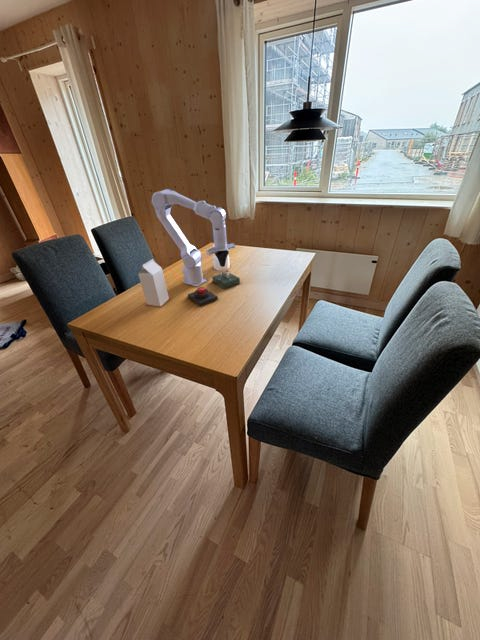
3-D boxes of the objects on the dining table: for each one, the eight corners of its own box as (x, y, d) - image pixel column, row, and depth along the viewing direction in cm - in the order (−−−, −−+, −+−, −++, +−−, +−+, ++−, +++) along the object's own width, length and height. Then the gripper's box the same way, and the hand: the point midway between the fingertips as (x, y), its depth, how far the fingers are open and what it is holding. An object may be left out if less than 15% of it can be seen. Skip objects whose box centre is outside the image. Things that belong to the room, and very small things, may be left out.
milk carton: (169, 299, 120) (160, 259, 110) (160, 306, 115) (150, 265, 104) (156, 297, 123) (145, 258, 112) (146, 304, 117) (135, 264, 107)
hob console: (212, 281, 134) (212, 276, 132) (227, 276, 138) (226, 271, 136) (225, 289, 126) (224, 283, 124) (239, 283, 131) (239, 277, 129)
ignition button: (196, 292, 118) (195, 288, 117) (203, 289, 120) (202, 286, 119) (200, 295, 116) (199, 291, 115) (207, 292, 117) (206, 288, 116)
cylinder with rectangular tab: (232, 265, 150) (231, 245, 144) (223, 271, 144) (221, 250, 138) (220, 263, 155) (218, 242, 148) (210, 268, 148) (208, 247, 142)
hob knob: (221, 276, 132) (221, 268, 129) (224, 275, 132) (223, 268, 130) (227, 279, 128) (226, 271, 126) (229, 278, 129) (229, 270, 127)
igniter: (188, 297, 121) (186, 290, 119) (204, 291, 125) (204, 284, 123) (200, 306, 113) (199, 299, 112) (217, 299, 118) (216, 292, 116)
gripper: (210, 242, 112) (214, 272, 119) (238, 235, 119) (239, 264, 126) (202, 239, 117) (206, 268, 124) (229, 232, 124) (231, 260, 131)
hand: (222, 266), depth 126 cm, fingers closed
